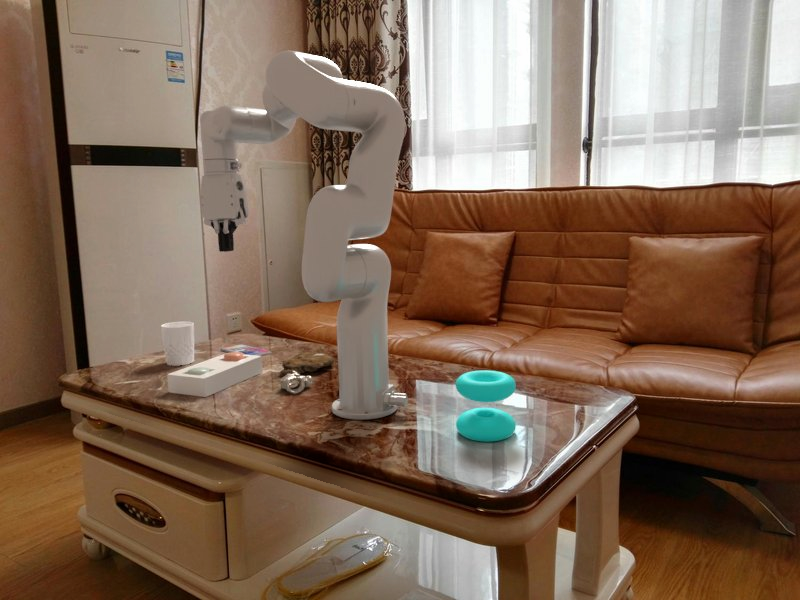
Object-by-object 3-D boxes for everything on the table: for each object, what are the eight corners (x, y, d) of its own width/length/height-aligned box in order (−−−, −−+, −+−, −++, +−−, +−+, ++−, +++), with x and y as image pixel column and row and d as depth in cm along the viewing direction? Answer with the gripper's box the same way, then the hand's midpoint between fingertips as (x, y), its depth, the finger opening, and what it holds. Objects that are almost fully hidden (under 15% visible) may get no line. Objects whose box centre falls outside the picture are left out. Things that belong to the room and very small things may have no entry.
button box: (262, 372, 148) (261, 355, 148) (205, 397, 130) (204, 378, 129) (228, 368, 152) (227, 352, 151) (168, 392, 134) (167, 374, 133)
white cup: (190, 366, 155) (187, 327, 154) (159, 367, 156) (155, 327, 154) (200, 358, 163) (198, 321, 162) (171, 359, 163) (167, 321, 162)
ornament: (316, 392, 132) (316, 376, 131) (284, 397, 130) (283, 380, 129) (308, 383, 139) (308, 367, 139) (278, 386, 137) (277, 370, 137)
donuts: (448, 370, 109) (502, 366, 111) (449, 425, 110) (502, 420, 112) (466, 387, 99) (525, 382, 101) (466, 447, 101) (525, 440, 103)
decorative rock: (314, 382, 141) (341, 367, 155) (315, 364, 140) (341, 351, 155) (269, 376, 144) (299, 362, 159) (270, 359, 144) (299, 346, 158)
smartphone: (242, 343, 177) (273, 351, 167) (242, 347, 177) (273, 355, 167) (219, 348, 172) (249, 356, 161) (219, 351, 172) (249, 360, 162)
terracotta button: (248, 369, 147) (247, 352, 147) (236, 374, 143) (235, 357, 143) (233, 367, 149) (232, 351, 149) (221, 372, 145) (219, 355, 145)
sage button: (214, 385, 137) (213, 368, 136) (200, 391, 133) (199, 373, 132) (198, 384, 138) (197, 366, 138) (184, 389, 134) (183, 371, 134)
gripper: (258, 168, 140) (263, 250, 142) (205, 170, 145) (211, 249, 148) (237, 166, 133) (243, 252, 136) (182, 169, 139) (189, 252, 142)
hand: (226, 250), depth 142 cm, fingers closed
